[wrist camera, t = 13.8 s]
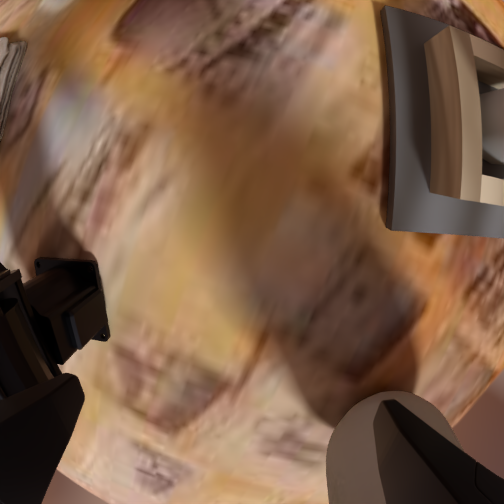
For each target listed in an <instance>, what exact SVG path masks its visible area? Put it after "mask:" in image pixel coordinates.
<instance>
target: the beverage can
mask: <svg viewBox="0 0 504 504" xmlns="http://www.w3.org/2000/svg"><path fill="white" fill-rule="evenodd" d="M479 96H480V107H481V122H482V158H483V159H484V160H486V161H487V162H489V163H491V164H500V165H504V88H502V89H498V90H494V91H491V92H487V93H483V94H479Z"/></svg>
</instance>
